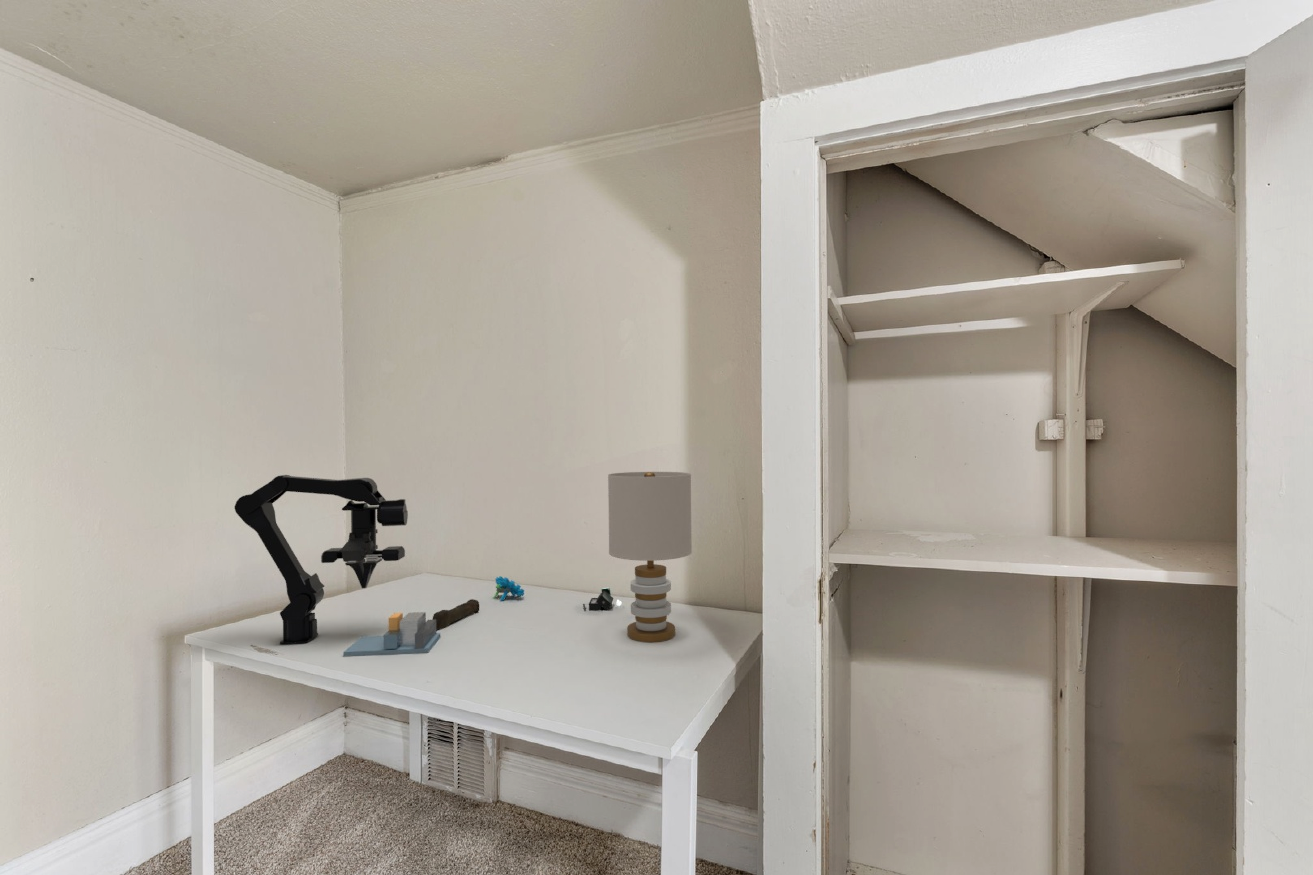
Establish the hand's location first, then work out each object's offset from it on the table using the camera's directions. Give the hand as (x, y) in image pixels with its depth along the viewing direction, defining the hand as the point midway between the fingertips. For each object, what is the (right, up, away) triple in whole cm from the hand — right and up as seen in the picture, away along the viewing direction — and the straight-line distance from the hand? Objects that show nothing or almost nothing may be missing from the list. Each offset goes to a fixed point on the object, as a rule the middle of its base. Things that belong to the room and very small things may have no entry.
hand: (364, 587), depth 154 cm
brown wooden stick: (+20, -12, +11) cm, 26 cm away
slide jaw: (+13, -11, -9) cm, 19 cm away
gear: (+29, -12, +34) cm, 46 cm away
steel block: (+16, -11, -8) cm, 21 cm away
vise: (+11, -12, -9) cm, 19 cm away
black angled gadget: (+58, -12, +22) cm, 64 cm away
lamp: (+74, -11, -2) cm, 75 cm away
